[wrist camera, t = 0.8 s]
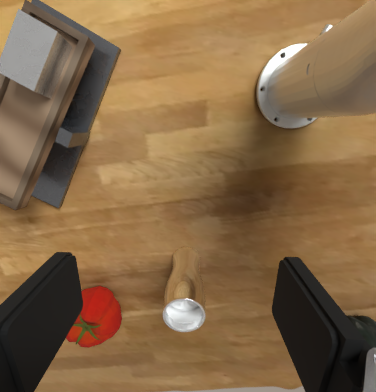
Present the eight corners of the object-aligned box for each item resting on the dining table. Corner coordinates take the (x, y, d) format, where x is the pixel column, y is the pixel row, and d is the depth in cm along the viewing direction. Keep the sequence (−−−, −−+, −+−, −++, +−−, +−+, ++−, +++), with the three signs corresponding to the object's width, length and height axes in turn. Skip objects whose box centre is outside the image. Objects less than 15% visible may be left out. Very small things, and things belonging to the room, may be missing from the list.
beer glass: (165, 265, 48) (154, 324, 34) (178, 239, 46) (171, 291, 32) (194, 276, 49) (195, 338, 35) (207, 251, 47) (214, 307, 33)
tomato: (113, 328, 55) (100, 364, 46) (67, 307, 53) (44, 340, 45) (137, 293, 51) (126, 326, 43) (88, 269, 49) (67, 298, 41)
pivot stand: (34, -2, 34) (-5, -33, 27) (123, 51, 36) (107, 35, 29) (-11, 172, 42) (-48, 181, 36) (63, 207, 44) (40, 222, 38)
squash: (341, 390, 52) (429, 435, 39) (301, 354, 49) (382, 390, 36) (353, 331, 58) (432, 353, 45) (319, 297, 56) (393, 310, 43)
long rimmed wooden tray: (37, 11, 32) (25, -1, 29) (95, 45, 33) (88, 36, 30) (-28, 181, 36) (-43, 183, 33) (26, 206, 37) (15, 210, 34)
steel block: (38, 27, 31) (18, 8, 27) (72, 46, 31) (57, 31, 28) (17, 81, 32) (-5, 70, 28) (50, 98, 33) (33, 91, 29)
